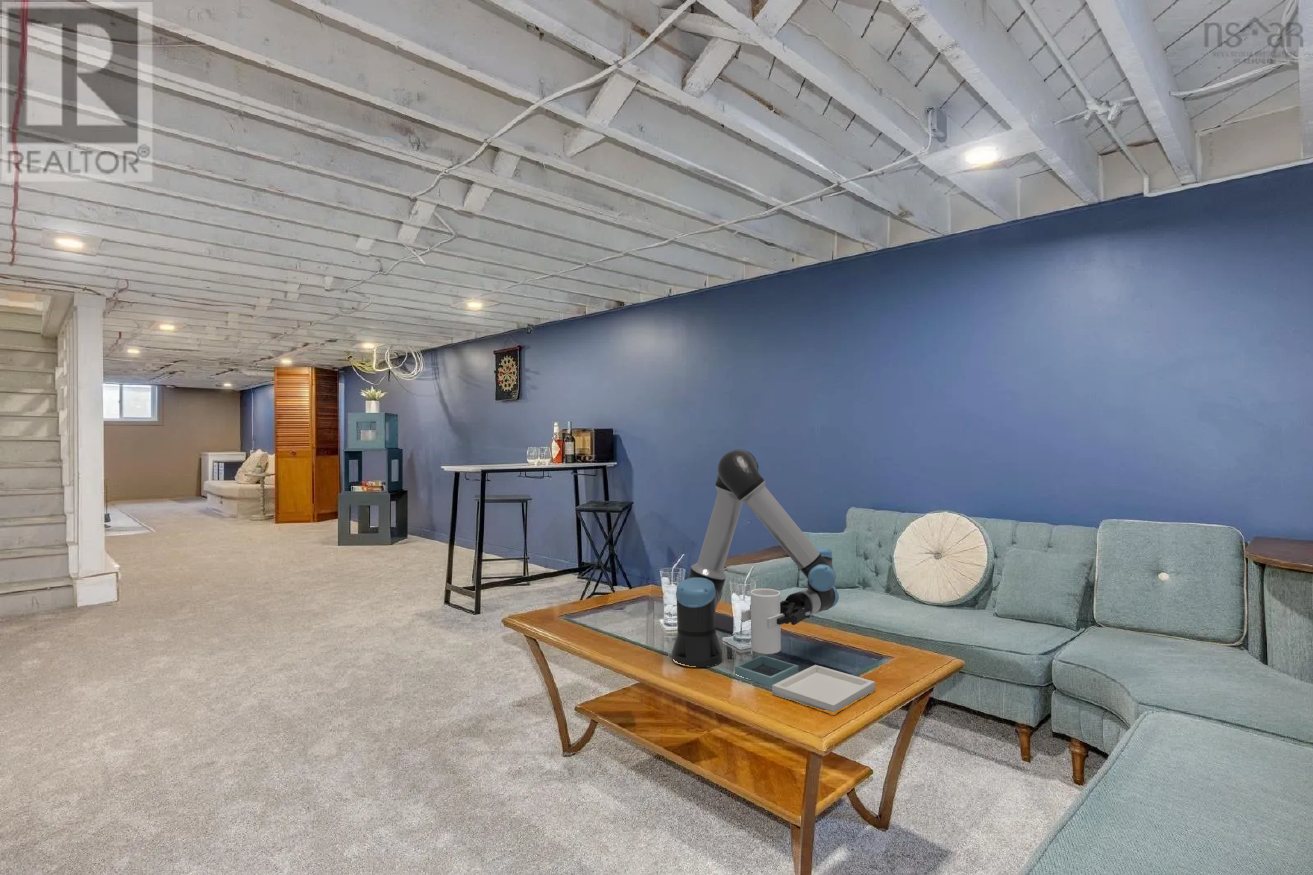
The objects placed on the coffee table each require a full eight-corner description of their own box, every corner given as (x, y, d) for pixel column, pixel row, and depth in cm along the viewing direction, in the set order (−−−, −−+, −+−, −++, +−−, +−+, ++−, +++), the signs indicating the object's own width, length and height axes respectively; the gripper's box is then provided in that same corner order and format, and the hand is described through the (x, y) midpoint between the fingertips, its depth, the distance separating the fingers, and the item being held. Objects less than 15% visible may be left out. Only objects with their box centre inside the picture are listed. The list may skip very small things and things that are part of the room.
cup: (749, 643, 184) (748, 588, 183) (778, 643, 183) (777, 588, 183) (752, 653, 175) (752, 595, 175) (782, 653, 175) (782, 595, 175)
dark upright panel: (687, 623, 231) (733, 636, 216) (687, 619, 231) (733, 631, 216) (711, 616, 240) (756, 628, 224) (711, 612, 240) (756, 623, 224)
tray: (834, 715, 153) (833, 705, 153) (772, 694, 166) (772, 685, 166) (875, 691, 166) (874, 681, 166) (815, 673, 179) (815, 664, 179)
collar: (771, 687, 170) (771, 678, 170) (734, 675, 180) (734, 666, 180) (798, 674, 179) (798, 665, 179) (762, 663, 188) (762, 654, 188)
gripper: (833, 624, 184) (787, 642, 168) (773, 609, 199) (726, 625, 184) (833, 598, 184) (786, 614, 168) (773, 586, 199) (725, 599, 184)
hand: (755, 620), depth 176 cm, fingers closed on cup, 8 cm apart
